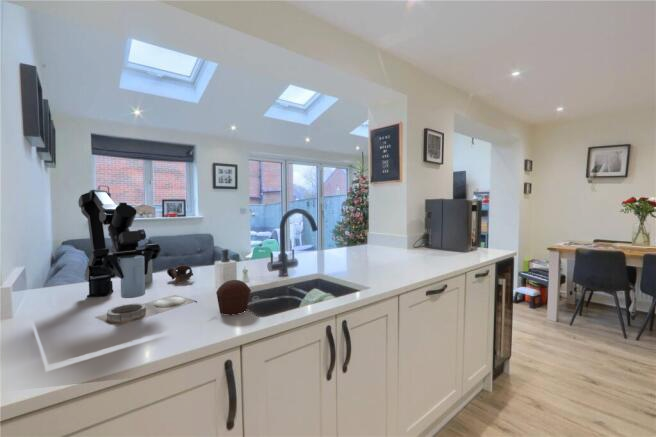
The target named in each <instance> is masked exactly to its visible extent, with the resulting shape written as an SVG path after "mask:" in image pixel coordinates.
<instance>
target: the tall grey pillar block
mask: <svg viewBox="0 0 656 437" xmlns="http://www.w3.org/2000/svg"><path fill="white" fill-rule="evenodd" d="M153 281H154V279H153V259H152V260H150V261H149V262H148V272H147V275H145V284H147V283H151V282H153Z"/></svg>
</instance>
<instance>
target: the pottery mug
mask: <svg viewBox="0 0 656 437" xmlns="http://www.w3.org/2000/svg"><path fill="white" fill-rule="evenodd" d="M187 271H188V272H187ZM166 273H167V275H168V276H169V277H170V278H171V279H172V280H174V283H175V284H177V285H178V284H179V283H180V282H184V281H187V280H189V279H191V277H192V276H194V273H193V270H192V267H190V266H189V265H185V264H184V265H183V264H182V265H177V266H175V267H169V268H168V269H167V271H166Z"/></svg>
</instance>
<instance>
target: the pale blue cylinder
mask: <svg viewBox="0 0 656 437" xmlns="http://www.w3.org/2000/svg"><path fill="white" fill-rule="evenodd" d="M119 261H120V263H119V266H120V269H121V271H122V274H123V278H122V279H121V278H120V297H121V298H123V299H134V298H139V297H143V296H145V294H146V283H145V262H144V256H127V257H122V258H119Z"/></svg>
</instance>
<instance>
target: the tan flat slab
mask: <svg viewBox="0 0 656 437" xmlns="http://www.w3.org/2000/svg"><path fill="white" fill-rule="evenodd" d="M192 303H196V304H197V303H198V301H197V300H196V299H195V300H194V299H191V298H187V297H183V296H180V295H177V294H174V295H170V296H166V297H162V298H159V299H156V300H152V301H148V302H144V303H140V302H139V303H138V302H137V303H135V302H133V303H126V304H121V305H116V306H114V307H111V308H110V309H108V310H107V311H106V313H104V314H102V315H99V316H95V317H94V318H96V319H98V320H101V321H103V322H105V323H107V324H110V325H112V326H114V327H120V326H123V325H125V324H128V323H131V322H135V321H138V320H142V319H144V318H147V317H151V316H155V315H158V314H160V313H164V312H167V311H170V310H172V309H173V310H174V309H176V308H179V307H184V306H186V305H189V304H192Z"/></svg>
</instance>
